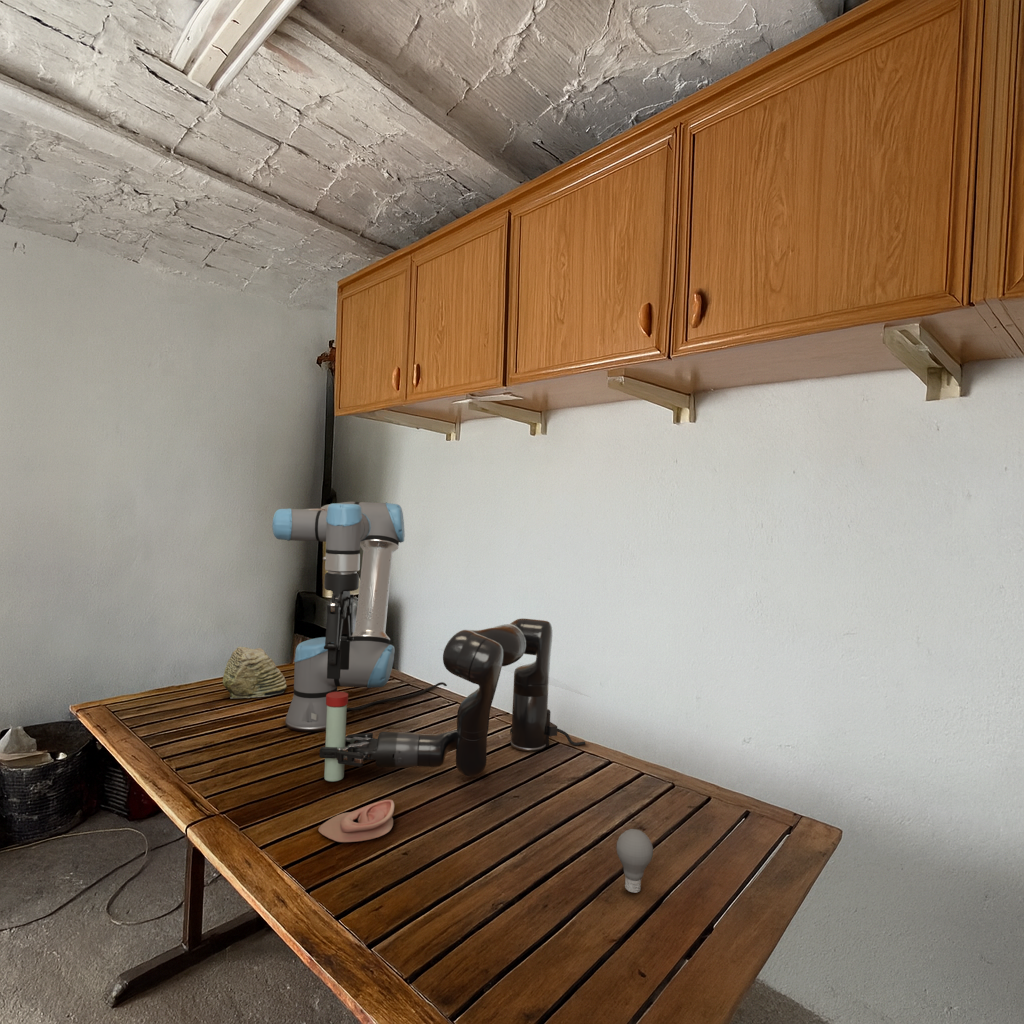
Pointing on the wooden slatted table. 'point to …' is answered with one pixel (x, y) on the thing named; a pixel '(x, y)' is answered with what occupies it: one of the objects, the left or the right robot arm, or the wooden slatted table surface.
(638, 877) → the light bulb
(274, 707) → the wooden slatted table surface
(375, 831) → the anatomical model
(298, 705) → the left robot arm
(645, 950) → the wooden slatted table surface
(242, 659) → the fossil
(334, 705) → the lid
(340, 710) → the pale green slim bottle
